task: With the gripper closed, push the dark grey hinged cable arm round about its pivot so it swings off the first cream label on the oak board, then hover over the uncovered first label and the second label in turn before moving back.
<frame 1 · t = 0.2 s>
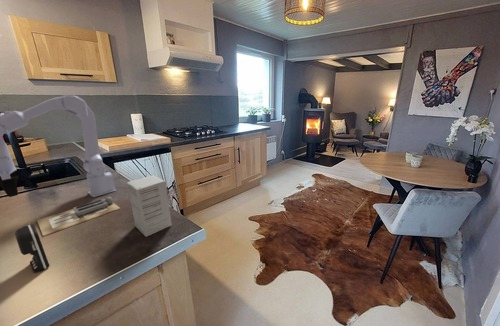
hand: (12, 193, 79), 10 cm above the counter, tool pointing down, fingers open, 7 cm apart
supplement box: (153, 226, 75), on the counter
battery charger: (38, 266, 58), on the counter
label board: (80, 214, 82), on the counter
cable arm: (94, 204, 85), point 2 cm above the counter, hinge at 0.0°
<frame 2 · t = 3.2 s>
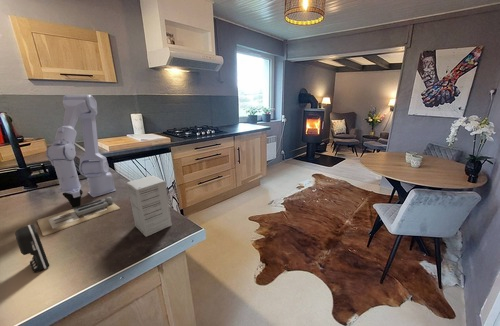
hand: (77, 208, 84), 1 cm above the counter, tool pointing down, fingers closed
cable arm: (94, 204, 85), point 2 cm above the counter, hinge at 0.3°, touching gripper
everything else where it was.
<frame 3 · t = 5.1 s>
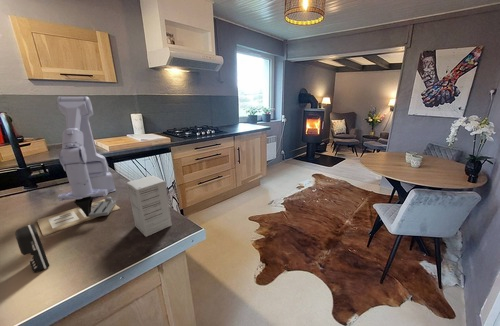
hand: (89, 215, 79), 1 cm above the counter, tool pointing down, fingers closed, pressing on cable arm
cable arm: (104, 206, 84), point 2 cm above the counter, hinge at 55.4°, touching gripper
everything else where it was.
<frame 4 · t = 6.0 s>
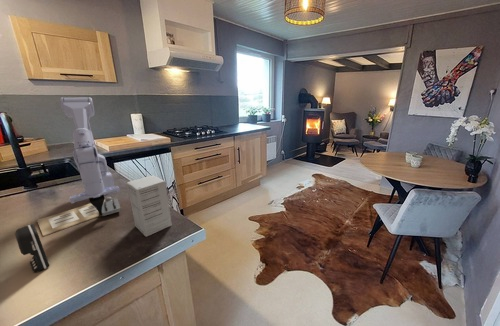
hand: (101, 214, 80), 1 cm above the counter, tool pointing down, fingers closed, pressing on cable arm
cable arm: (109, 205, 85), point 2 cm above the counter, hinge at 77.6°, touching gripper
everything else where it was.
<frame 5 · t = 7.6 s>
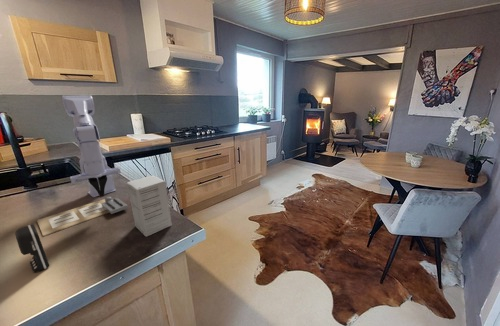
hand: (101, 195, 79), 8 cm above the counter, tool pointing down, fingers closed
cable arm: (113, 203, 86), point 2 cm above the counter, hinge at 91.1°
everything else where it was.
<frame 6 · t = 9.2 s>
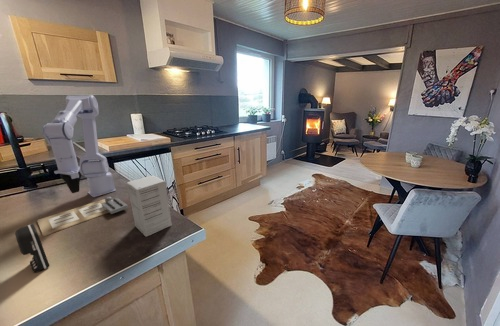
hand: (75, 192, 80), 9 cm above the counter, tool pointing down, fingers closed
nothing on the counter moved.
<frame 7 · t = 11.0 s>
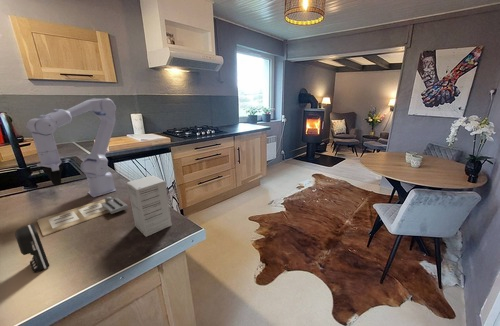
hand: (57, 184, 85), 10 cm above the counter, tool pointing down, fingers closed
nothing on the counter moved.
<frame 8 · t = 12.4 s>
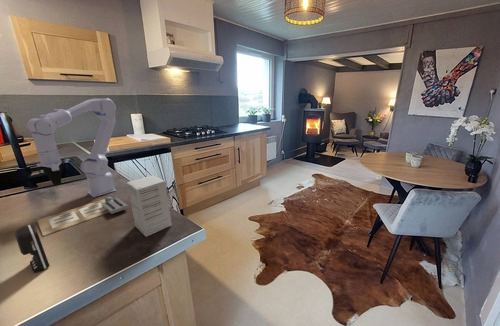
hand: (57, 184, 85), 10 cm above the counter, tool pointing down, fingers closed
nothing on the counter moved.
at the end: cable arm at +91° (first picture: +0°) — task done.
